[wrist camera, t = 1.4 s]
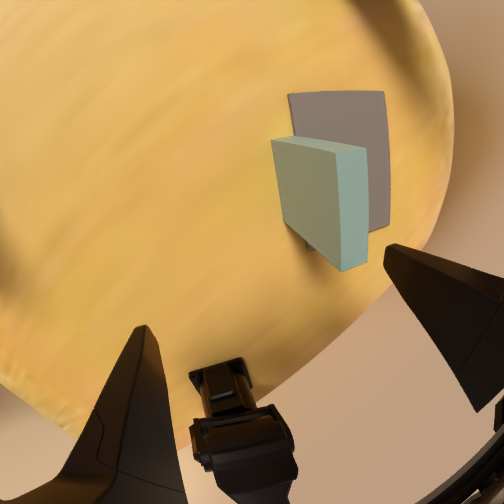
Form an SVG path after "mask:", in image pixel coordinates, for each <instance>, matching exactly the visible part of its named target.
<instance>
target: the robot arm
mask: <svg viewBox="0 0 504 504" xmlns="http://www.w3.org/2000/svg"><path fill="white" fill-rule="evenodd" d="M383 266H384V269H385V271H386V272H387V274H388V275H389V277H390V279H391V280H392V282H393V283H394V285H395V287H396V288H397V290H398V291H399V293H400V295H401V296H402V298H403V299H404V301H405V302H406V303H407V305H408V306H409V308H410V309H411V310H412V312H413V313H414V314H415V316H416V317H417V318H418V320H419V321H420V323H421V324H422V326H423V327H424V328H425V330H426V331H427V333H428V334H429V336H430V337H431V339H432V340H433V342H434V343H435V345H436V346H437V348H438V349H439V351H440V352H441V354H442V355H443V357H444V359H445V360H446V362H447V363H448V365H449V367H450V368H451V370H452V371H453V373H454V374H455V377H456V378H457V380H458V381H459V383H460V385H461V387H462V388H463V390H464V392H465V394H466V395H467V397H468V399H469V401H470V403H471V404H472V406H473V408H474V410H475V411H476V413H478V412H479V411H480V410H481V409H482V408H483V407H484V406H486V404H488V403H489V402H490V401H491V400H492V399H493V398H494V397H495V396H496V395H497V394H498V393H499V392H500V391H501V390H502V389H504V278H501V277H498V276H494V275H491V274H488V273H485V272H482V271H479V270H476V269H473V268H472V269H471V268H470V267H467V266H465V265H462V264H459V263H456V262H453V261H450V260H447V259H444V258H441V257H438V256H434V255H431V254H428V253H425V252H422V251H419V250H416V249H412V248H409V247H406V246H402V245H399V244H395V243H394V244H391V245H389V246H387V247H386V248H385V254H384V261H383ZM188 375H189V379H190V380H191V382H192V383H193V385H194V387H195V388H196V390H197V391H198V393H199V394H200V396H201V399H202V403H203V408H204V412H205V417H206V418H200V419H198V418H194V419H193V421H194V424H193V425H192V426H190V427H189V430H190V435H191V441H192V449H193V456H194V459H195V460H196V461H198V462H199V463H201V466H204V469H205V472H211V471H213V473H214V477H215V480H216V483H217V486H218V487H219V488H220V489H221V490H222V491H223V492H224V493H225V494H227V495H228V496H229V497H230V498H231V499H233V500H234V501H235V502H236V503H238V504H290V502H289V500H288V494H289V491H290V488H291V484H292V481H293V480H296V478H297V475H298V467H297V464H296V462H295V460H294V457H293V454H292V453H293V452H294V448H295V447H294V440H293V436H292V434H291V431H290V429H289V427H288V426H287V424H286V422H285V421H284V419H283V418H282V416H281V415H280V413H279V412H278V410H277V409H276V407H275V406H274V404H270V405H268V406H265V407H260V408H257V406H256V403H255V401H254V398H253V395H252V393H251V390H250V389H252V387H253V386H252V383H251V381H250V378H249V375H248V372H247V369H246V366H245V363H244V361H243V359H242V358H236V359H233V360H230V361H226V362H223V363H220V364H217V365H213V366H210V367H206V368H203V369H199V370H196V371H192V372H190V373H189V374H188ZM494 431H495V432H496V433H495V435H494V436H493V437H492V438H491V439H490V440H489V441H488V442H487V443H486V444H485V446H483V447H482V448H481V449H480V451H479V452H478V453H477V454H476V455H475V456H474V457H473V458H471V459H470V460H469V461H468V462H467V463H466V464H465V465H464V466H463V467H462V468H461V469H460V470H458V471H457V472H456V473H455V474H454V475H453V476H451V477H450V478H449V479H448V480H447V481H445V482H444V483H443V484H441V485H440V486H439V487H438V488H436V489H435V490H434V491H432V492H431V493H430V494H428V495H427V496H426V497H424V498H423V499H421V500H420V501H418V502H417V503H415V504H461V503H463V502H464V501H465V500H466V499H467V498H468V497H469V496H470V495H472V494H473V493H474V492H475V491H476V490H477V489H479V492H478V493H476V494H474V495H473V496H471V497H470V498H469V499H467V500H466V501H465V502H464V503H463V504H504V395H503V397H502V398H501V399H500V400H499V401H498V403H497V404H496V405H495V419H494ZM0 504H188V501H187V497H186V493H185V489H184V485H183V480H182V476H181V471H180V467H179V461H178V456H177V450H176V445H175V439H174V433H173V427H172V420H171V413H170V405H169V398H168V389H167V383H166V378H165V374H164V369H163V364H162V360H161V355H160V350H159V345H158V342H157V340H156V338H155V336H154V335H153V333H152V332H151V330H150V328H149V327H148V326H147V325H141V326H138V327H136V328H135V329H134V330H133V332H132V334H131V336H130V338H129V339H128V341H127V343H126V345H125V347H124V349H123V351H122V352H121V354H120V356H119V358H118V360H117V362H116V364H115V366H114V368H113V370H112V372H111V374H110V376H109V378H108V380H107V382H106V384H105V386H104V388H103V390H102V392H101V394H100V396H99V398H98V400H97V402H96V404H95V406H94V409H93V410H92V412H91V415H90V417H89V419H88V421H87V423H86V425H85V427H84V429H83V431H82V433H81V435H80V437H79V439H78V441H77V442H76V444H75V446H74V448H73V450H72V451H71V453H70V455H69V457H68V459H67V461H66V462H65V464H64V466H63V468H62V470H61V471H60V472H59V474H58V475H57V476H56V477H55V478H54V479H53V480H51V481H49V482H47V483H45V484H43V485H42V486H40V487H38V488H36V489H34V490H32V491H30V492H28V493H26V494H24V495H21V496H19V497H17V498H15V499H12V500H7V501H3V500H1V499H0Z"/></svg>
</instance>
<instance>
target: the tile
mask: <svg viewBox="0 0 504 504" xmlns="http://www.w3.org/2000/svg"><path fill="white" fill-rule="evenodd" d="M271 145H272V151H273V157H274V163H275V169H276V175H277V182H278V188H279V195H280V201H281V208H282V215H283V221H284V222H285V223H286V224H287V225H289V226H290V227H291V228H292V229H293V230H294V231H295V232H297V233H298V234H299V235H300V236H301V237H302V238H303V239H305V240H306V241H307V242H308V243H309V244H310V245H311V246H312V247H314V248H315V249H316V250H317V251H318V252H319V253H320V254H321V255H322V256H323V257H325V258H326V259H327V260H328V261H329V262H330V263H331V264H332V265H333V266H334V267H336V268H337V269H338V270H339V271H340V272H344V271H347V270H349V269H352V268H354V267H357V266H359V265H362V264H364V263H367V259H368V232H369V194H368V167H367V151H366V148H363V147H358V146H354V145H348V144H343V143H338V142H332V141H326V140H320V139H313V138H306V137H299V136H290V137H284V138H278V139H273V140H271Z"/></svg>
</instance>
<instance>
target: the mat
mask: <svg viewBox="0 0 504 504" xmlns="http://www.w3.org/2000/svg"><path fill="white" fill-rule="evenodd" d="M287 96H288V101H289V107H290V113H291V119H292V125H293V132H294V136H299V137H306V138H313V139H320V140H326V141H332V142H338V143H343V144H348V145H354V146H358V147H363V148H366V151H367V167H368V194H369V232H370V231H372V230H375V229H378V228H381V227H384V226H387V225H390V191H391V183H390V148H389V133H388V121H387V111H386V102H385V94H384V91H320V92H304V93H292V94H287ZM307 246H308V250H309V251H313V250H316V249H315V248H314V247H312V246H311V245H310V244H309V243H308V242H307Z"/></svg>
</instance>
